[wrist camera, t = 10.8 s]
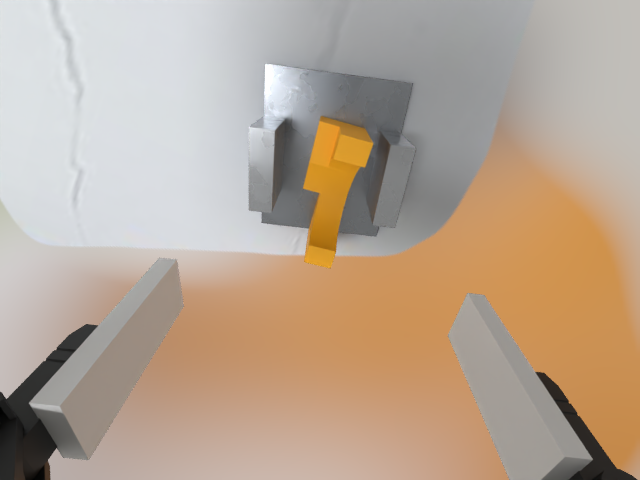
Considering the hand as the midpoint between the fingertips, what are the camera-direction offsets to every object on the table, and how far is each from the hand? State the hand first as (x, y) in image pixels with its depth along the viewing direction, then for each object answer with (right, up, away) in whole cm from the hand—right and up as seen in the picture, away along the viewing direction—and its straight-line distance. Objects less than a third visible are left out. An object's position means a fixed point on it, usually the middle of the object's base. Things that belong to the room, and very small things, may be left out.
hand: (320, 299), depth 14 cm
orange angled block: (+1, +9, +17) cm, 20 cm away
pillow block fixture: (+1, +11, +17) cm, 20 cm away
